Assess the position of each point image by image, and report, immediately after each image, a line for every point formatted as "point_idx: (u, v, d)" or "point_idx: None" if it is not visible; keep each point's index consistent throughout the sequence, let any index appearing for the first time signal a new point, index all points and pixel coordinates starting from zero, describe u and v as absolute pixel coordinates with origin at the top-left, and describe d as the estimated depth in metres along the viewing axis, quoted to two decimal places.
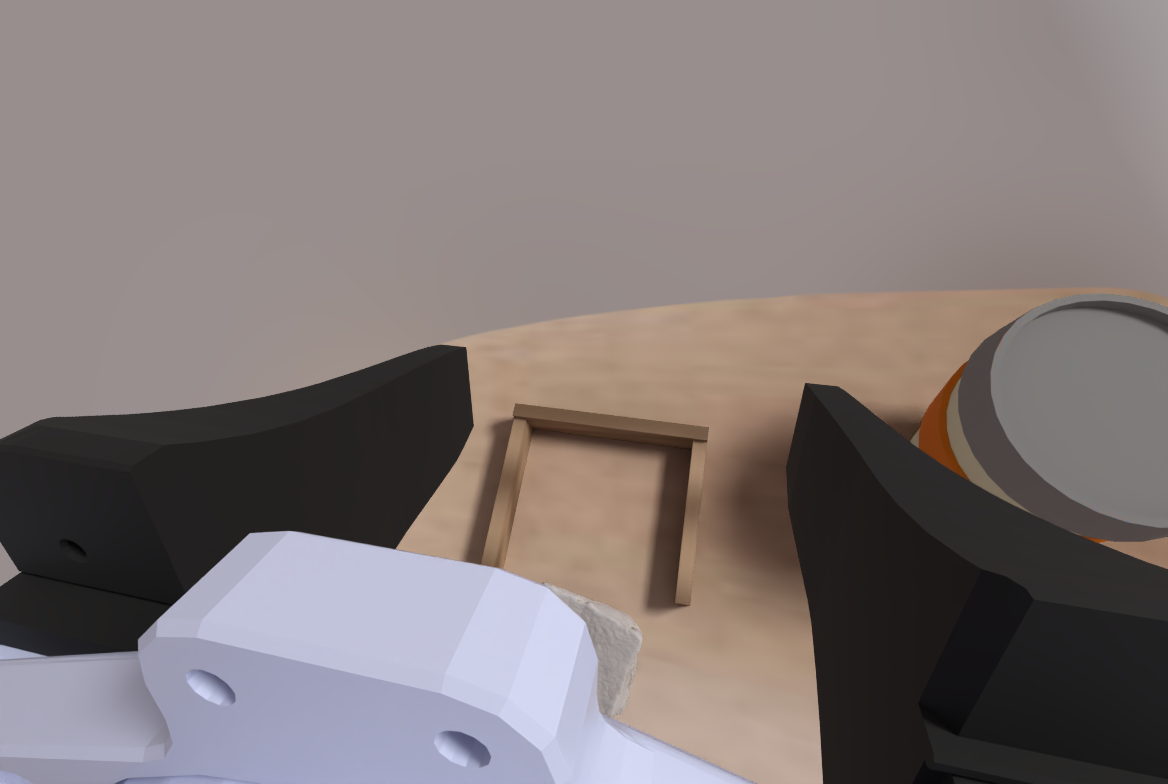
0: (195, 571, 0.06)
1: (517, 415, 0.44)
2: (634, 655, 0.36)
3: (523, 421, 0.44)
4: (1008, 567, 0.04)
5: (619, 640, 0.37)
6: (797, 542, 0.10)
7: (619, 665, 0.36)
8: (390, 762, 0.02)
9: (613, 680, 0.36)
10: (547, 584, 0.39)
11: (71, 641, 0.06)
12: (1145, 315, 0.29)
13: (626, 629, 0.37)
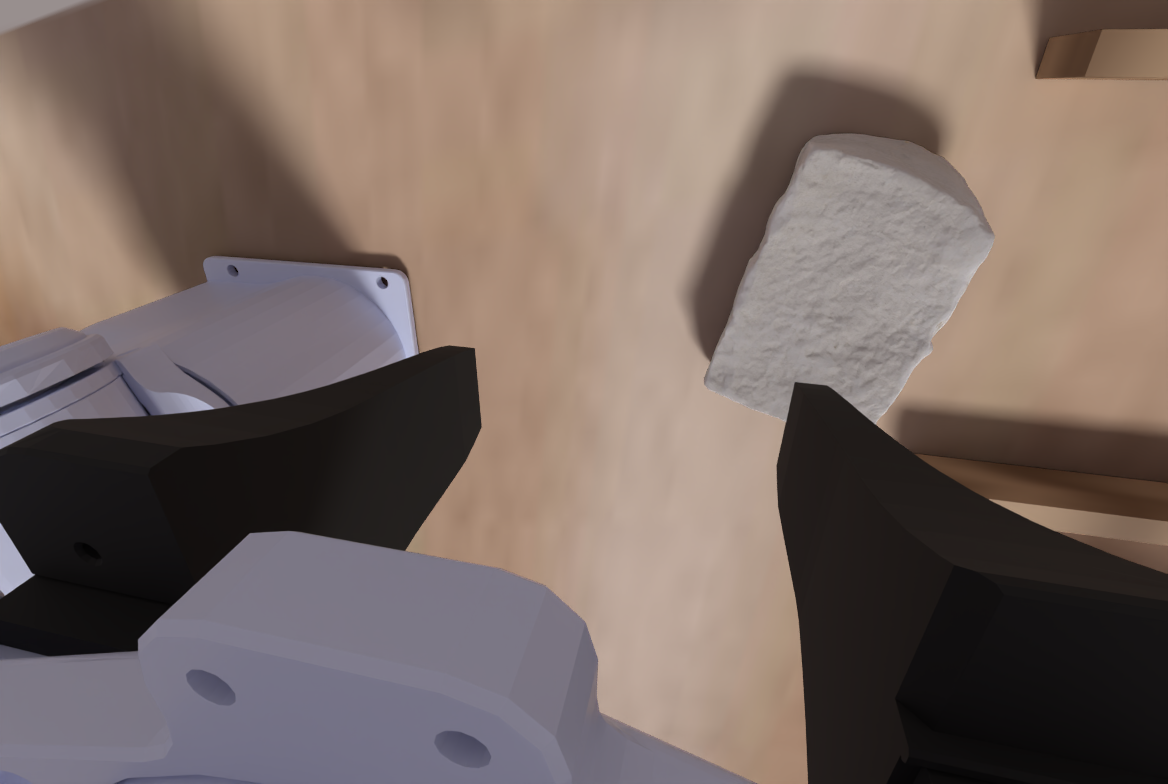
0: None
1: None
2: None
3: None
4: (979, 563, 0.05)
5: None
6: (786, 540, 0.10)
7: None
8: (390, 762, 0.02)
9: (769, 396, 0.19)
10: (990, 247, 0.16)
11: (86, 644, 0.06)
12: None
13: None
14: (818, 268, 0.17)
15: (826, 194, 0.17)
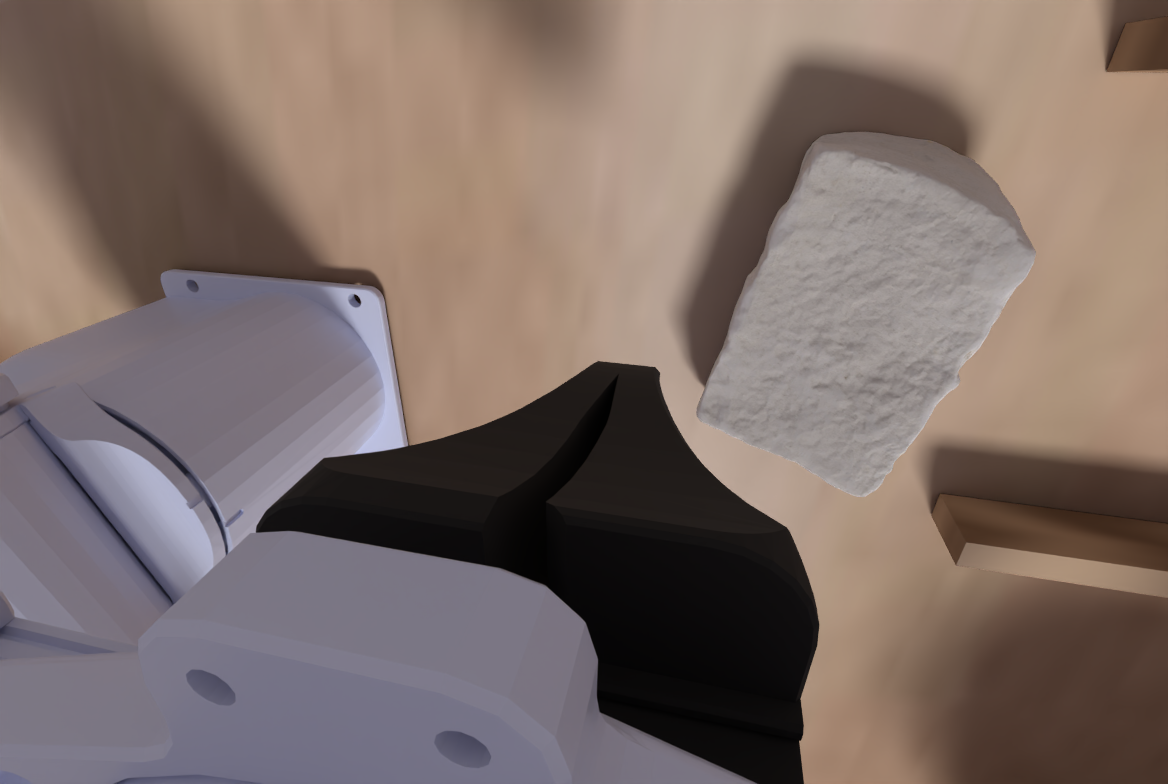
0: None
1: None
2: (825, 479, 0.17)
3: None
4: (579, 502, 0.05)
5: (860, 453, 0.16)
6: None
7: (803, 448, 0.16)
8: (390, 762, 0.02)
9: (770, 432, 0.17)
10: (1031, 265, 0.13)
11: None
12: None
13: (887, 471, 0.16)
14: (825, 288, 0.15)
15: (835, 203, 0.14)
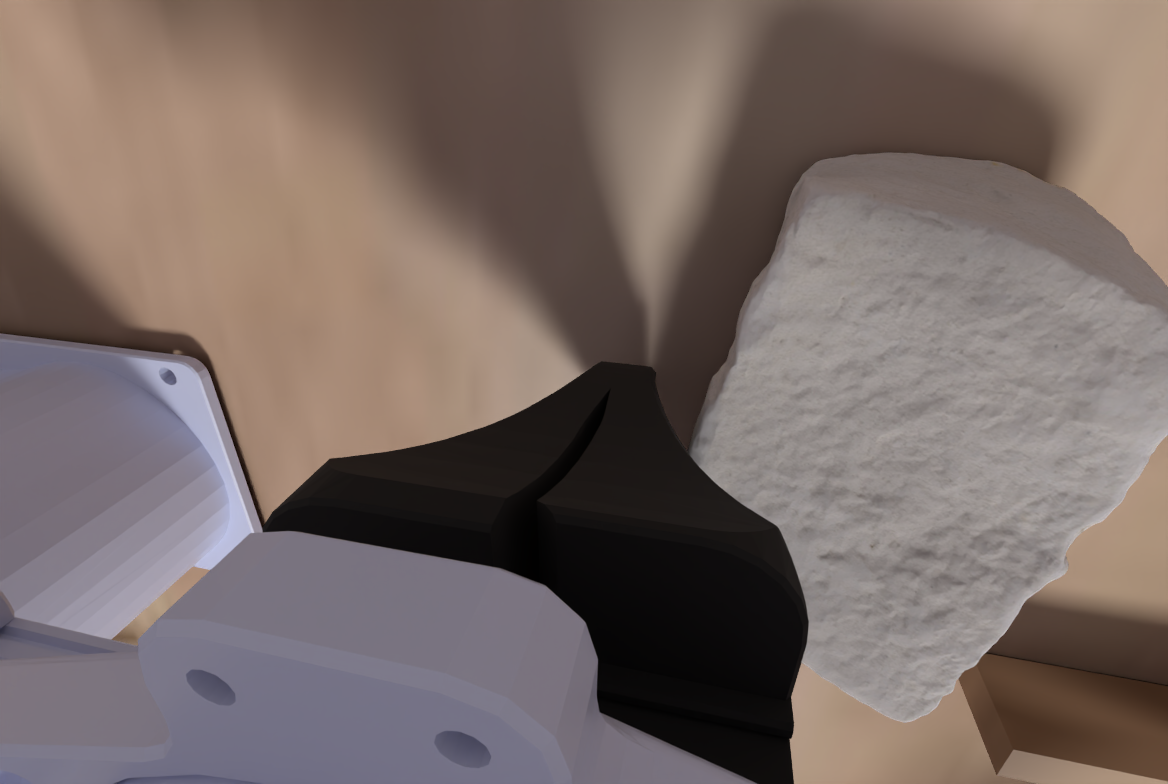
0: None
1: None
2: (846, 690, 0.11)
3: None
4: (570, 501, 0.05)
5: (901, 662, 0.10)
6: None
7: (809, 645, 0.11)
8: (389, 762, 0.02)
9: None
10: None
11: None
12: None
13: (945, 691, 0.10)
14: (834, 410, 0.09)
15: (844, 280, 0.08)
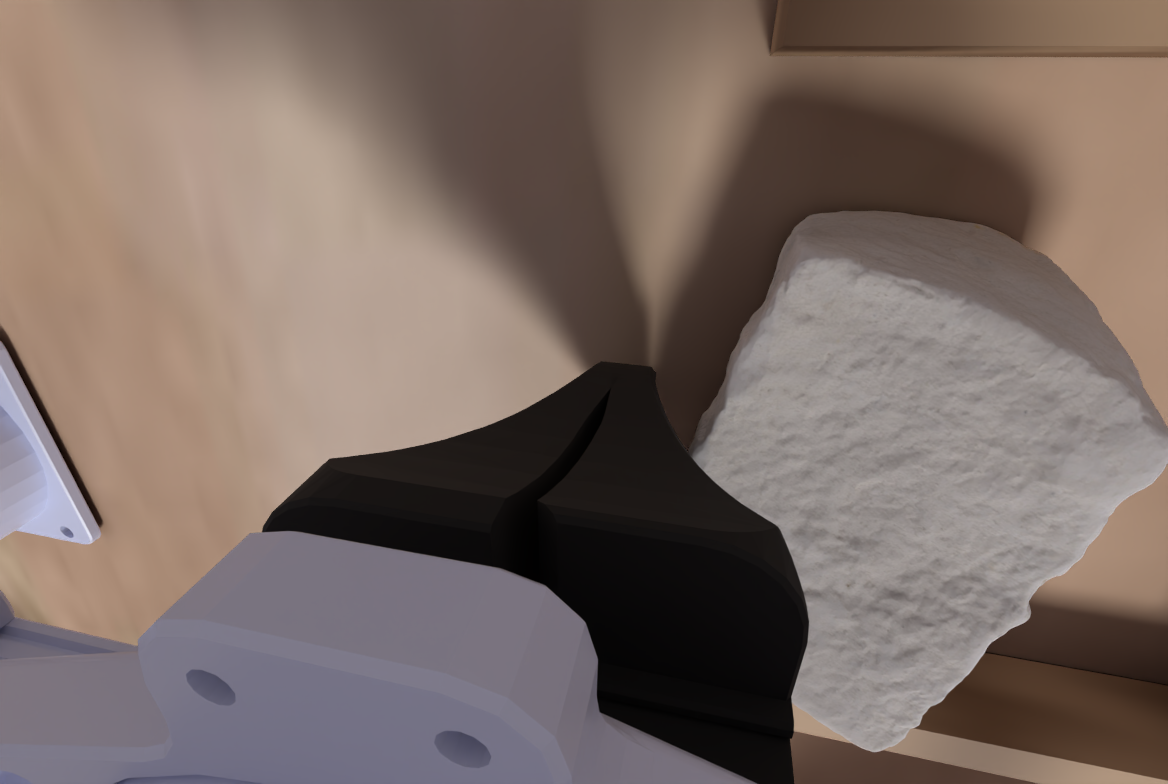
0: None
1: None
2: (819, 719, 0.11)
3: None
4: (570, 500, 0.05)
5: (871, 696, 0.10)
6: None
7: None
8: (390, 762, 0.02)
9: None
10: (1164, 459, 0.08)
11: None
12: None
13: (912, 725, 0.10)
14: (816, 457, 0.10)
15: (830, 337, 0.09)
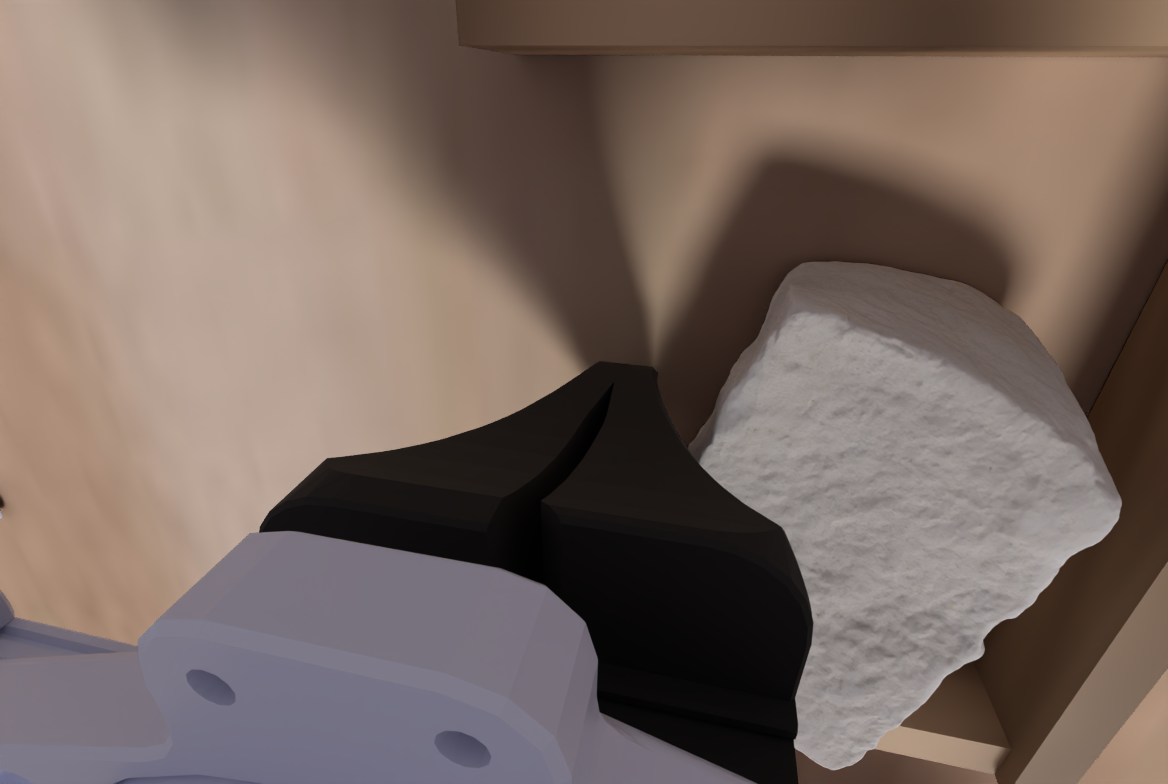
0: None
1: None
2: None
3: None
4: (575, 501, 0.05)
5: (833, 718, 0.11)
6: None
7: None
8: (390, 762, 0.02)
9: None
10: (1113, 520, 0.08)
11: None
12: None
13: (869, 747, 0.11)
14: (796, 494, 0.10)
15: (814, 385, 0.09)
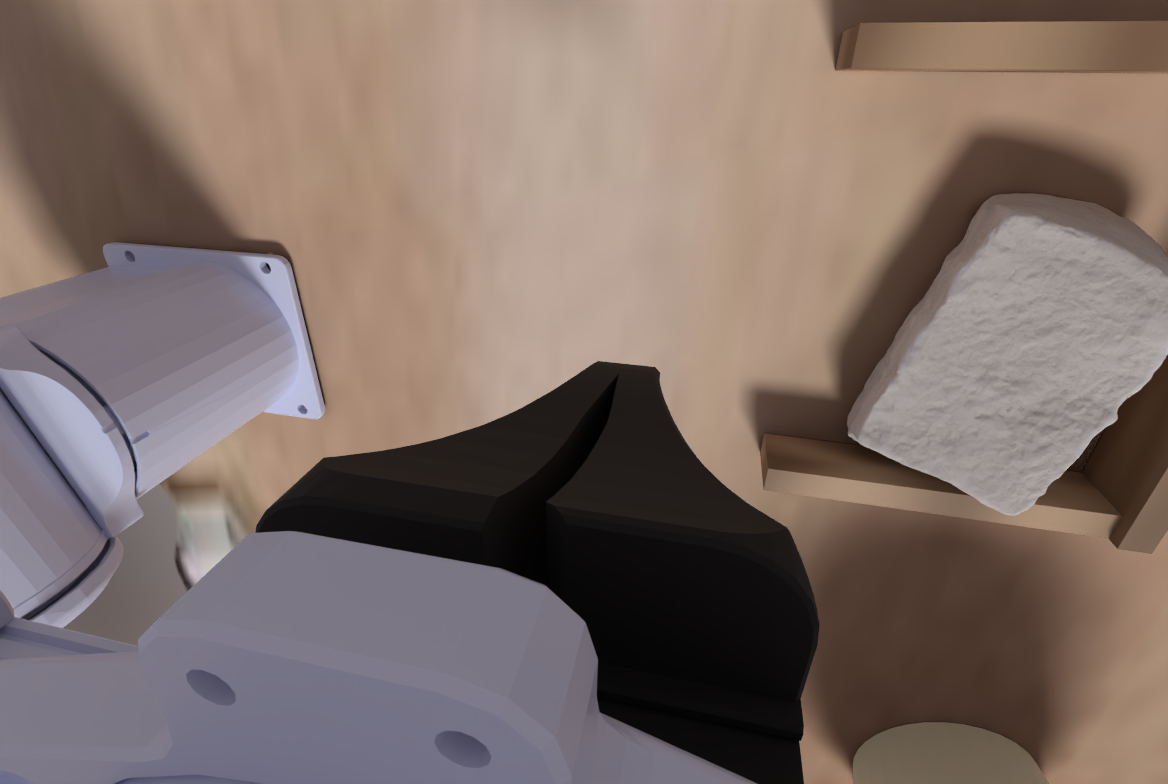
0: None
1: None
2: (979, 499, 0.19)
3: None
4: (579, 502, 0.05)
5: (1017, 477, 0.18)
6: None
7: (961, 471, 0.18)
8: (390, 762, 0.02)
9: (929, 455, 0.19)
10: None
11: None
12: None
13: (1040, 493, 0.18)
14: (997, 332, 0.17)
15: (1017, 260, 0.16)
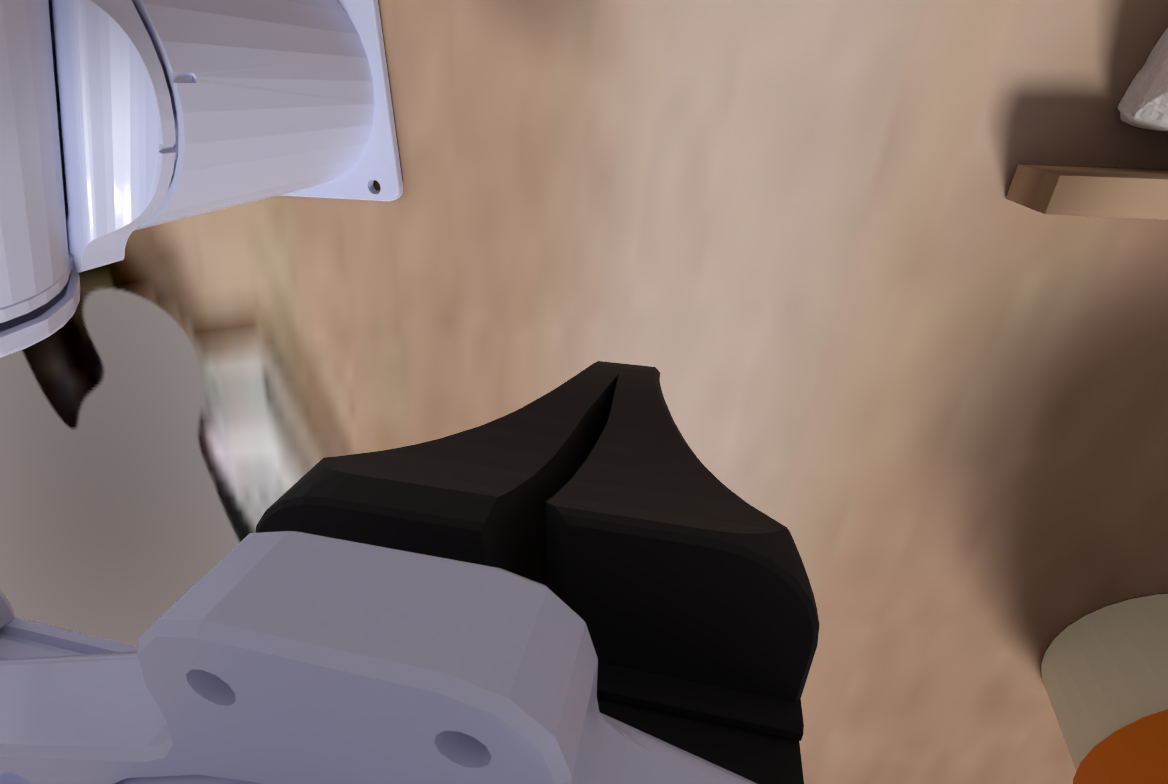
0: None
1: None
2: None
3: None
4: (580, 502, 0.05)
5: None
6: None
7: None
8: (390, 762, 0.02)
9: None
10: None
11: None
12: None
13: None
14: None
15: None
